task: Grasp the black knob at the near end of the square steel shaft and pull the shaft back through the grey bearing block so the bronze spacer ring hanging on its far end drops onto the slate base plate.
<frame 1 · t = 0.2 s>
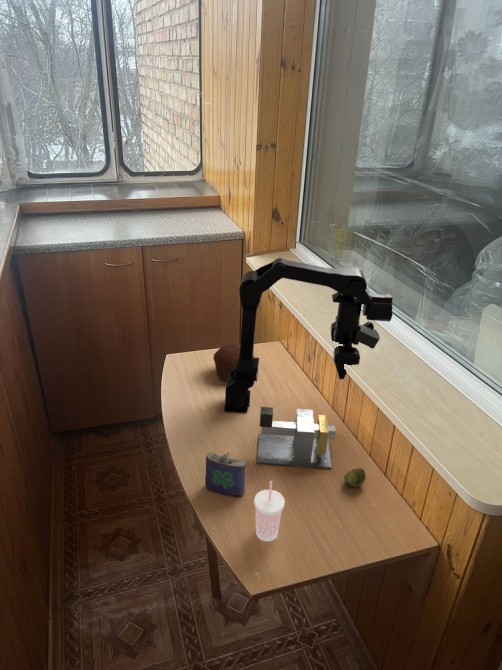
hand: (340, 369, 138), 14 cm above the table, tool pointing down, fingers open, 9 cm apart
shaft: (297, 423, 125), point 9 cm above the table, slide at 0.0 cm, touching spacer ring
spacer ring: (322, 434, 126), point 6 cm above the table, touching shaft
lime: (353, 485, 120), on the table
beverage cup: (266, 533, 106), on the table
flask: (224, 491, 116), on the table
bearing block: (301, 452, 129), on the table
muffin: (231, 376, 160), on the table
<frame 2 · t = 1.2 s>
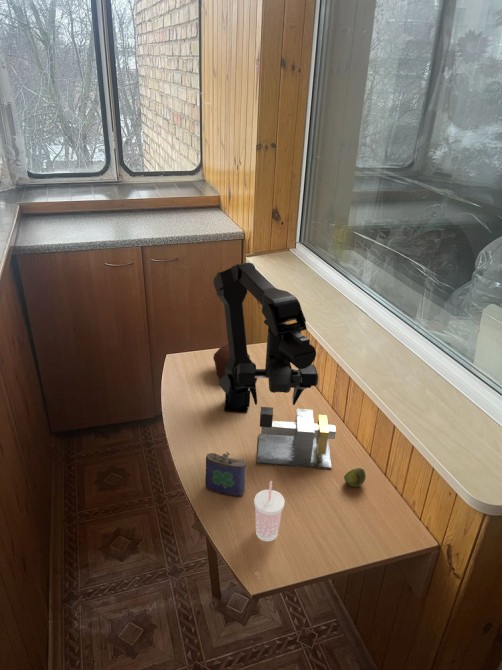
hand: (274, 403, 125), 13 cm above the table, tool pointing down, fingers open, 9 cm apart
nothing on the table moved.
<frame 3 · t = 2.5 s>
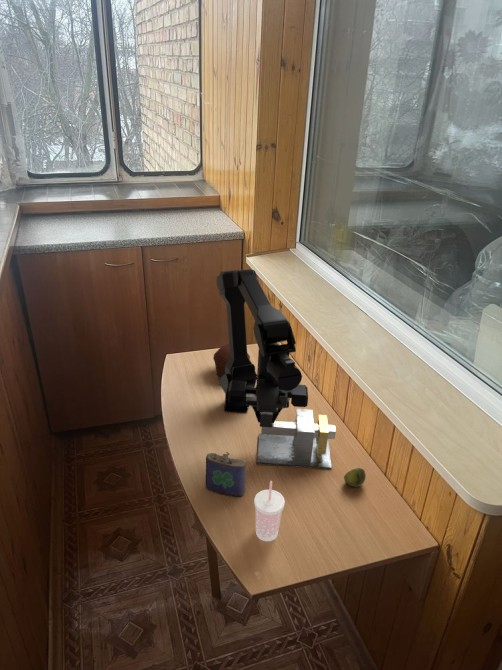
hand: (266, 421, 125), 9 cm above the table, tool pointing down, fingers closed on shaft, 3 cm apart
shaft: (297, 423, 125), point 9 cm above the table, slide at 0.0 cm, touching gripper, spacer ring
everything else where it was.
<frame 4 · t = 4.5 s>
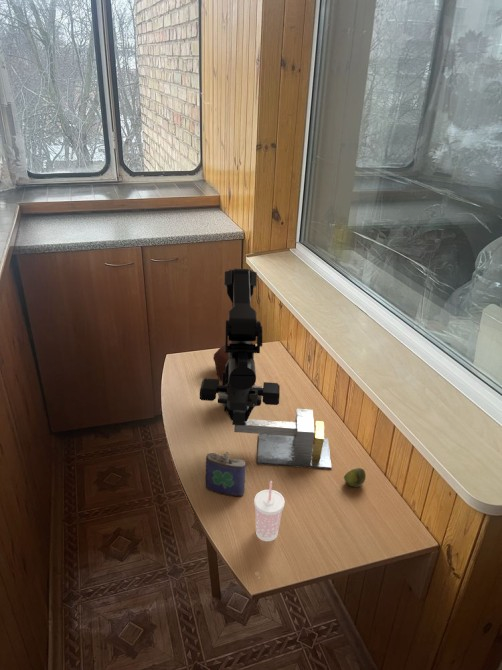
hand: (239, 420, 126), 9 cm above the table, tool pointing down, fingers closed on shaft, 3 cm apart
shaft: (270, 421, 125), point 9 cm above the table, slide at 6.6 cm, touching gripper
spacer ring: (317, 440, 127), point 4 cm above the table, touching bearing block
everything else where it was.
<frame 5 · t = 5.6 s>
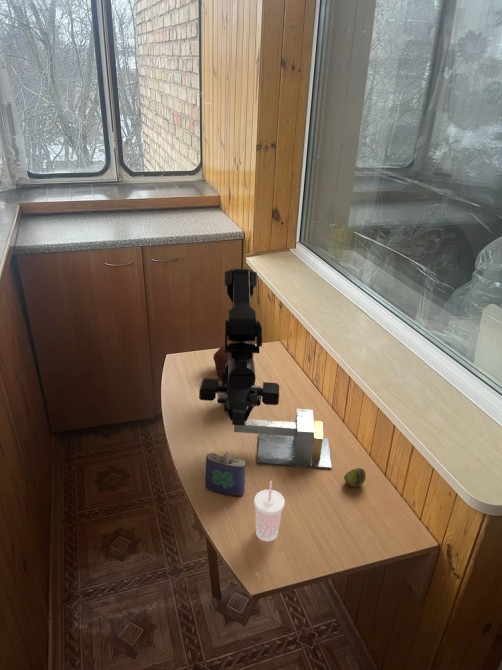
hand: (238, 420, 126), 9 cm above the table, tool pointing down, fingers closed on shaft, 3 cm apart
shaft: (270, 421, 125), point 9 cm above the table, slide at 6.7 cm, touching gripper
everything else where it was.
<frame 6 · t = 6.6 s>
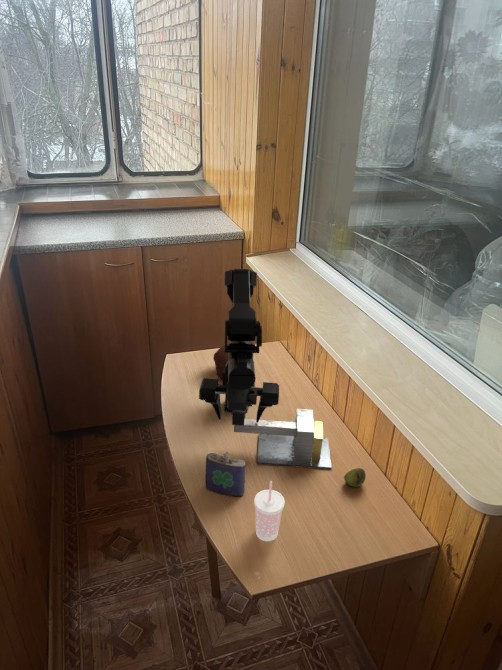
hand: (238, 420, 126), 9 cm above the table, tool pointing down, fingers open, 9 cm apart
shaft: (270, 421, 125), point 9 cm above the table, slide at 6.7 cm
everything else where it was.
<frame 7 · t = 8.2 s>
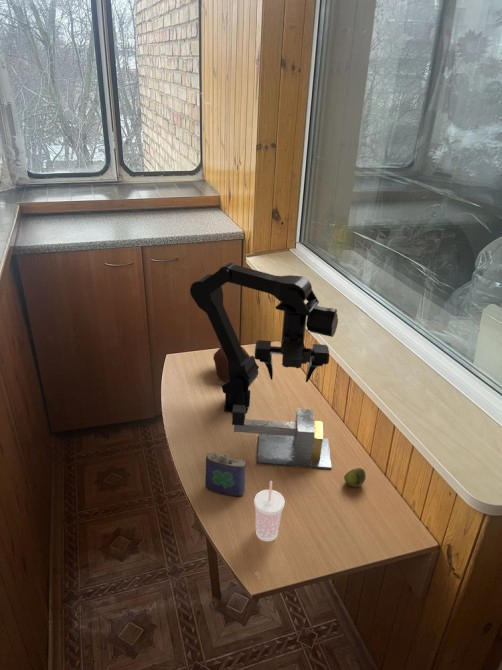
hand: (289, 380, 135), 13 cm above the table, tool pointing down, fingers open, 9 cm apart
nothing on the table moved.
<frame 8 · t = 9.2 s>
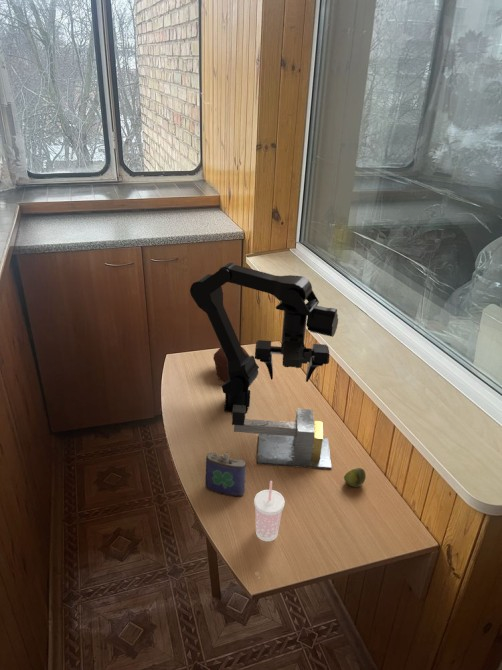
hand: (289, 379, 135), 13 cm above the table, tool pointing down, fingers open, 9 cm apart
nothing on the table moved.
at the end: shaft slide at 6.7 cm; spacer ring point 4.0 cm above the table; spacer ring touching bearing block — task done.
